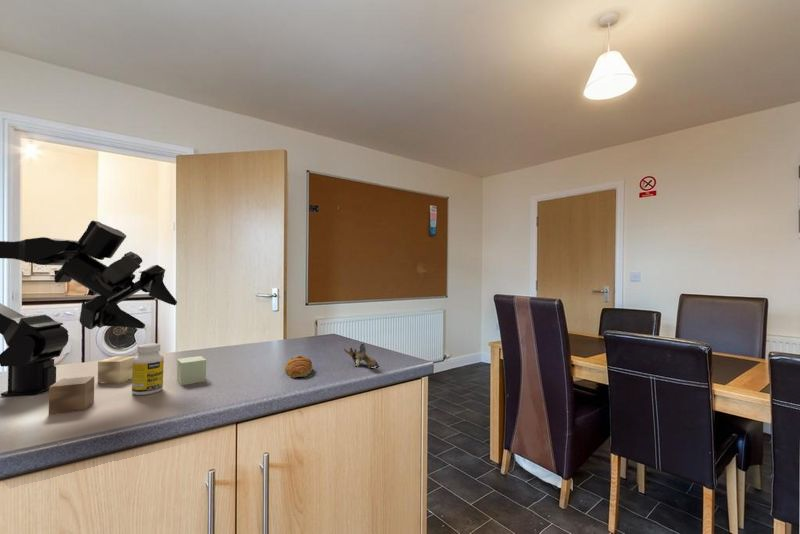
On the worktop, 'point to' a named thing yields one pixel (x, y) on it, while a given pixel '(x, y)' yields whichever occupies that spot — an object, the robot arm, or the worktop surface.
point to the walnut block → (71, 395)
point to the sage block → (191, 370)
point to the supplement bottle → (147, 370)
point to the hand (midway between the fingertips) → (161, 314)
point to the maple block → (115, 369)
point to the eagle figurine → (361, 356)
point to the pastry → (298, 367)
